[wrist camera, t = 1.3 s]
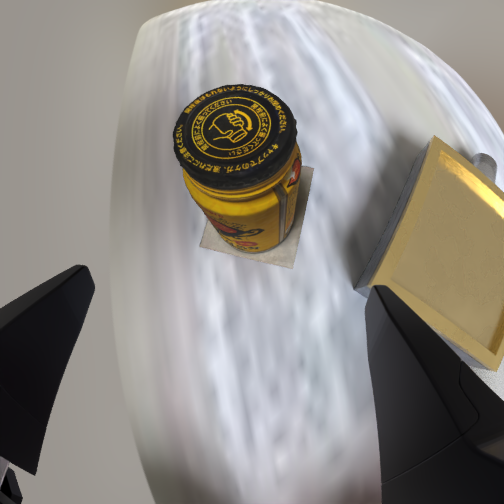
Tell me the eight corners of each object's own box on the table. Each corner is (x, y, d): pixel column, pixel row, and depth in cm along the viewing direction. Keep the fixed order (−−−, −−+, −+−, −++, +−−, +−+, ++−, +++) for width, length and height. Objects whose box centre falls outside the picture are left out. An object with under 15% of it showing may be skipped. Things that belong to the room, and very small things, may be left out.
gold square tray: (469, 366, 18) (496, 371, 14) (354, 289, 21) (370, 285, 17) (517, 208, 20) (538, 196, 16) (425, 131, 23) (442, 108, 19)
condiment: (200, 247, 22) (127, 183, 10) (229, 154, 24) (197, 46, 12) (292, 269, 21) (312, 219, 10) (313, 170, 23) (338, 62, 11)
